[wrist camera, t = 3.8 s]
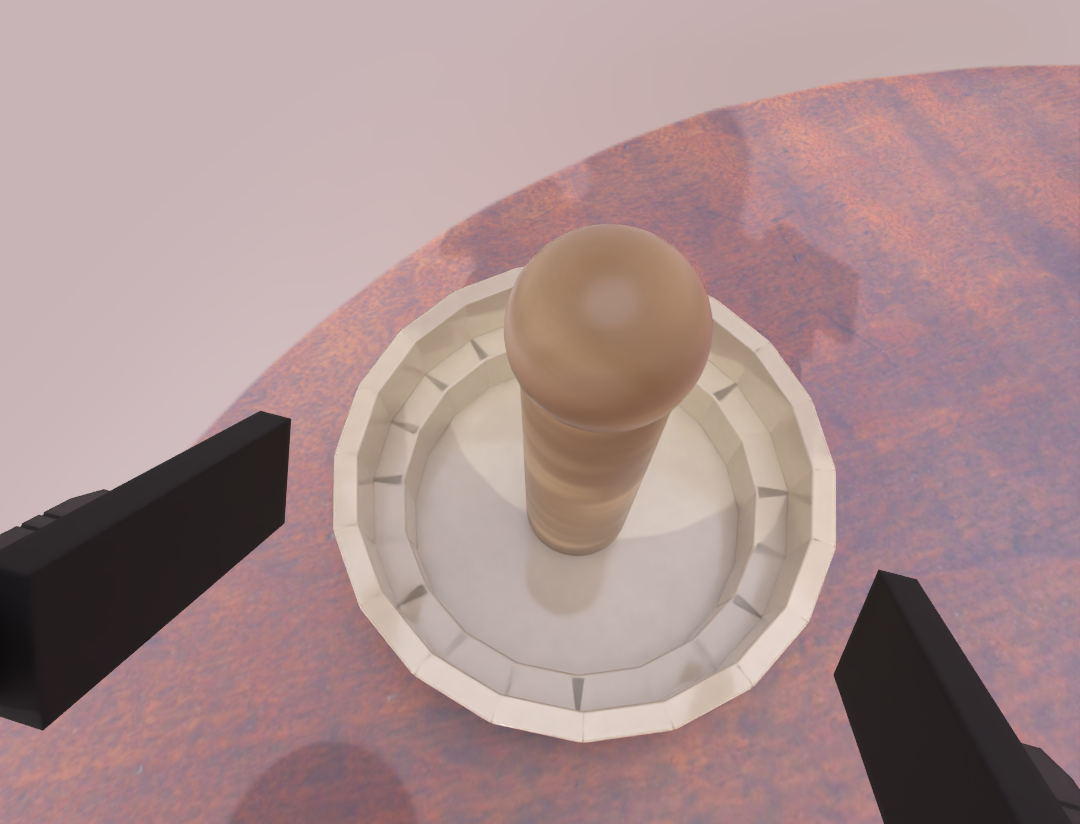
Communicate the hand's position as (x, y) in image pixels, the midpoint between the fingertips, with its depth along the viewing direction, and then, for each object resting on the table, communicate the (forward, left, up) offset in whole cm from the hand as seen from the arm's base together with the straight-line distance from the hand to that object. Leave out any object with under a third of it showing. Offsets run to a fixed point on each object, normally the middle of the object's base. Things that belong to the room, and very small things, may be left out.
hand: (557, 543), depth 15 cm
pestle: (+2, +4, -11) cm, 12 cm away
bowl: (+2, +4, -12) cm, 13 cm away
